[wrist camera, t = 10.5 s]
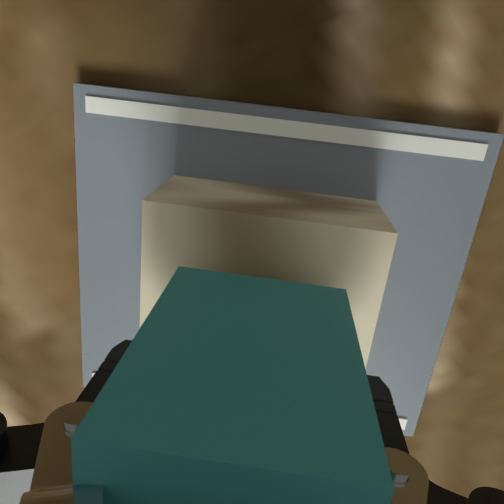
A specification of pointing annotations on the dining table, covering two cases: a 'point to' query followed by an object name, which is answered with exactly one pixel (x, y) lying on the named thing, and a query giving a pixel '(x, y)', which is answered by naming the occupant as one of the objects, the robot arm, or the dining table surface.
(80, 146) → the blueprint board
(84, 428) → the teal block
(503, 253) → the dining table surface
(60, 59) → the dining table surface
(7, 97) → the dining table surface
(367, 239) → the base block
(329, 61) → the dining table surface
